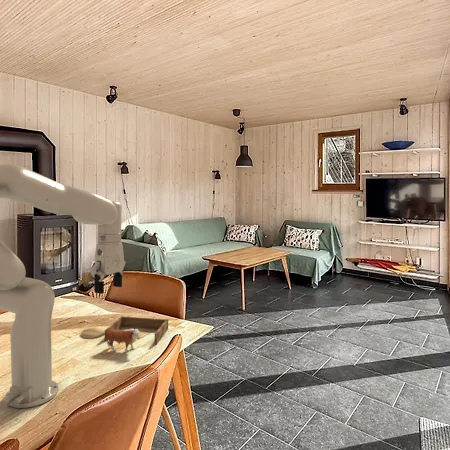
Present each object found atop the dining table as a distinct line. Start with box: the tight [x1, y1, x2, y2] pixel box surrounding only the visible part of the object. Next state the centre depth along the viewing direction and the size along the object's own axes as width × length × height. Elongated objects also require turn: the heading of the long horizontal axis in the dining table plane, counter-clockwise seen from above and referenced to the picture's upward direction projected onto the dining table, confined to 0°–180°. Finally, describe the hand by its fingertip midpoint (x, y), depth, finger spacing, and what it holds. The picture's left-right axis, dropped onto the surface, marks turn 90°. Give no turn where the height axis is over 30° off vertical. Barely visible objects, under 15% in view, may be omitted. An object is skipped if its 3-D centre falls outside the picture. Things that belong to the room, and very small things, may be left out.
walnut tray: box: [104, 316, 169, 346], centre depth 140 cm, size 16×20×4 cm
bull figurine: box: [104, 328, 142, 353], centre depth 126 cm, size 4×13×8 cm, turn 79°
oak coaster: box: [80, 326, 106, 339], centre depth 140 cm, size 9×9×1 cm
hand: (108, 289), depth 120 cm, fingers open, 9 cm apart
